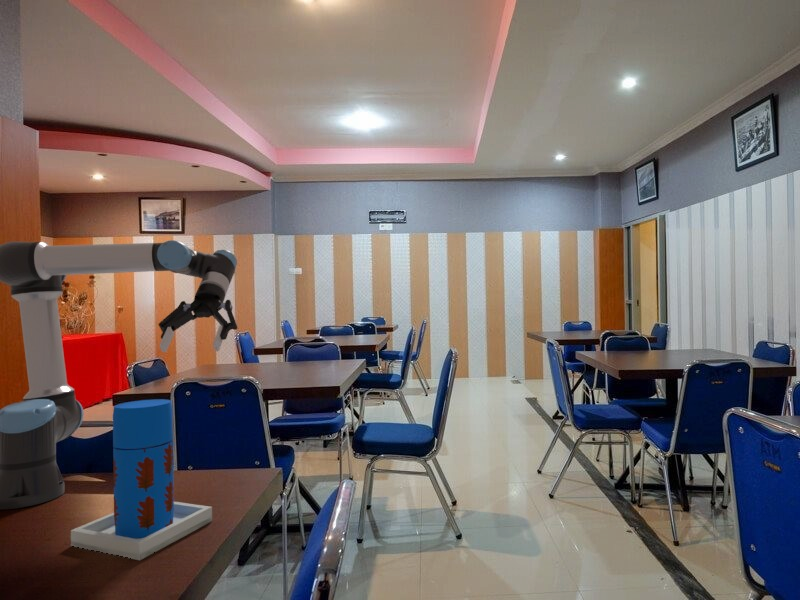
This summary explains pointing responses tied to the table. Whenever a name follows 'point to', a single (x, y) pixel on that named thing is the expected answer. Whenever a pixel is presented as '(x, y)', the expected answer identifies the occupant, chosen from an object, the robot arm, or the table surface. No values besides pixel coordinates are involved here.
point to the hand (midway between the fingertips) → (189, 348)
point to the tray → (105, 540)
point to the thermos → (143, 467)
